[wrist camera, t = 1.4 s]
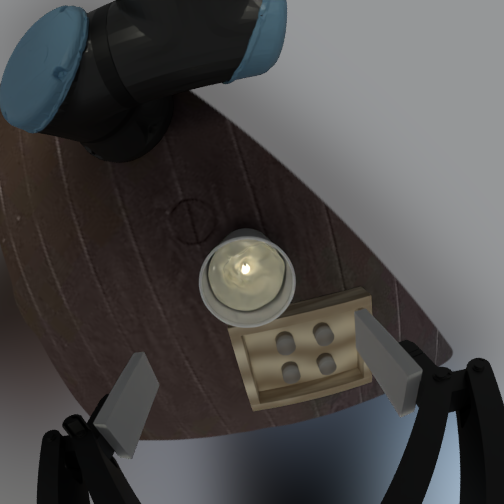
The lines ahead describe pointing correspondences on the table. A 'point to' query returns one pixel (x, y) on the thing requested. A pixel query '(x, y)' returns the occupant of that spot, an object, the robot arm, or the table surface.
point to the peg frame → (303, 351)
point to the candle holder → (247, 279)
